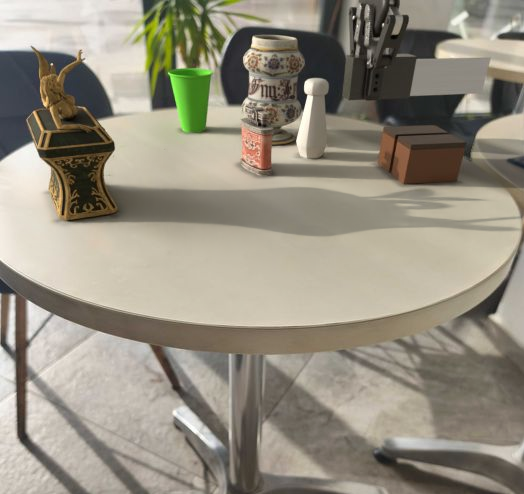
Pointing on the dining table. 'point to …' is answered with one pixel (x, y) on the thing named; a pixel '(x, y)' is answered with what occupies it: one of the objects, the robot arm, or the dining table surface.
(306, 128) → the salt shaker
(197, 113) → the cup
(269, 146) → the lighter
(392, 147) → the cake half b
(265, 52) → the apothecary jar
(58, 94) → the decorative box
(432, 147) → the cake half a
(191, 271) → the dining table surface
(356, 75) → the knife
